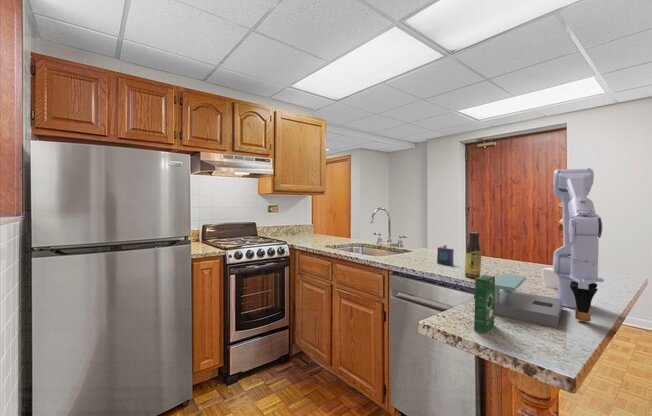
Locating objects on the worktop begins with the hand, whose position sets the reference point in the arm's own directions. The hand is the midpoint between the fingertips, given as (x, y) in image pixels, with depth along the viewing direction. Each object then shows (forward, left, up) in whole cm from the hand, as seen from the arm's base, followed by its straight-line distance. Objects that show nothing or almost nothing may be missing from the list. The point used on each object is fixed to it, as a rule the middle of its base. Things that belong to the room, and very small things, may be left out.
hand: (583, 310), depth 84 cm
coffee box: (+23, -19, -3) cm, 30 cm away
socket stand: (0, -13, -3) cm, 13 cm away
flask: (-59, -58, -3) cm, 83 cm away
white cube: (-42, -10, -3) cm, 43 cm away
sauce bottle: (-37, -38, -3) cm, 53 cm away
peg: (0, 0, -2) cm, 2 cm away
